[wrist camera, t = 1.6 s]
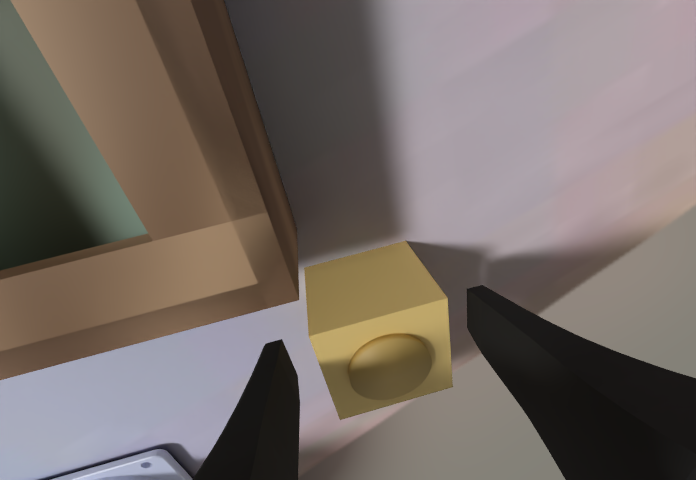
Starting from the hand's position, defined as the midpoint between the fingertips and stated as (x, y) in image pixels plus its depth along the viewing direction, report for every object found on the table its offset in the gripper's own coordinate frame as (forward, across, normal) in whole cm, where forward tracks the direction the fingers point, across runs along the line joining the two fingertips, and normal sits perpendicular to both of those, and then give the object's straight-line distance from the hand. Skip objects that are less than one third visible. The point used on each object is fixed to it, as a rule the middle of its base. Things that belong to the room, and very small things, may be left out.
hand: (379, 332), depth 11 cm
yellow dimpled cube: (+3, 0, 0) cm, 3 cm away
